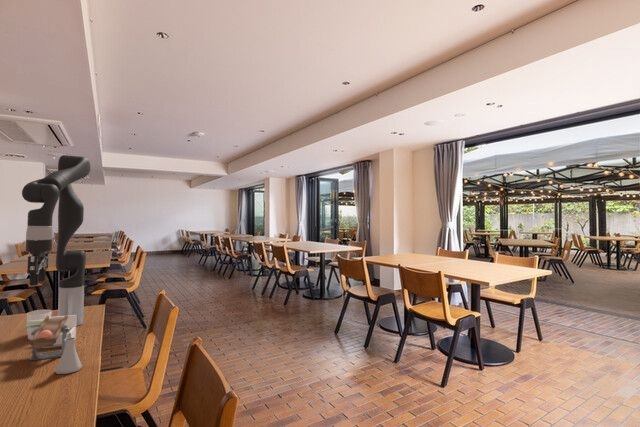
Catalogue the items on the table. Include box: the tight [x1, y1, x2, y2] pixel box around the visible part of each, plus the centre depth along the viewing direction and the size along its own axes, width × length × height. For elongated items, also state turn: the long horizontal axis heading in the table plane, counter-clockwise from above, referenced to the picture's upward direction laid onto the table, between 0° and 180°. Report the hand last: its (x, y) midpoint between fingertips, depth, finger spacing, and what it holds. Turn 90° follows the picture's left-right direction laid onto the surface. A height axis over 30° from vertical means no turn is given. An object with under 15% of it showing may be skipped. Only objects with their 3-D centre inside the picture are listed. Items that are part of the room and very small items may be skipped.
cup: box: [41, 315, 77, 349], centre depth 135 cm, size 10×9×9 cm
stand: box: [28, 326, 69, 362], centre depth 122 cm, size 5×11×10 cm, turn 115°
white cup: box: [26, 309, 53, 340], centre depth 140 cm, size 8×8×10 cm
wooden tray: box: [25, 314, 68, 349], centre depth 121 cm, size 18×12×3 cm, turn 25°
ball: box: [39, 330, 52, 338], centre depth 116 cm, size 4×4×4 cm
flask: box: [54, 337, 83, 375], centre depth 112 cm, size 7×7×10 cm
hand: (37, 283), depth 126 cm, fingers open, 8 cm apart
